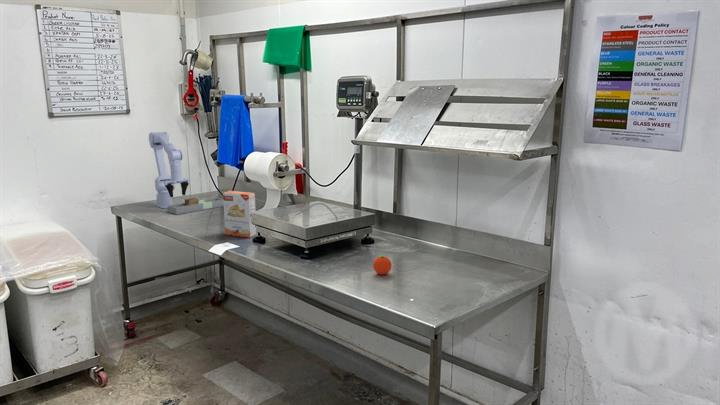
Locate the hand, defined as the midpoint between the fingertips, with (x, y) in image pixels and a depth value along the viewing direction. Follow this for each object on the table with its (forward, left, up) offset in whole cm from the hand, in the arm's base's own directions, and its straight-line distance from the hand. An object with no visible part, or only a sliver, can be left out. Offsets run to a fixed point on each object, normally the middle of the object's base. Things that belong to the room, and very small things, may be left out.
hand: (177, 196), depth 294 cm
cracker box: (+66, -6, -10) cm, 67 cm away
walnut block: (0, +9, -7) cm, 11 cm away
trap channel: (0, +12, -9) cm, 15 cm away
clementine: (+150, -3, -10) cm, 150 cm away
